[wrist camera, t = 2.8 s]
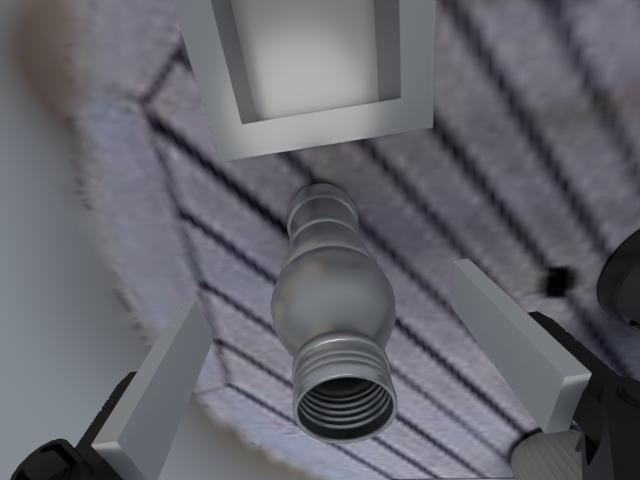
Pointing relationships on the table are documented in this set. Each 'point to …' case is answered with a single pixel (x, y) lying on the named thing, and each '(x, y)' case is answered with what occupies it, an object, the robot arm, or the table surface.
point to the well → (309, 70)
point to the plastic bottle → (334, 321)
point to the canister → (548, 457)
